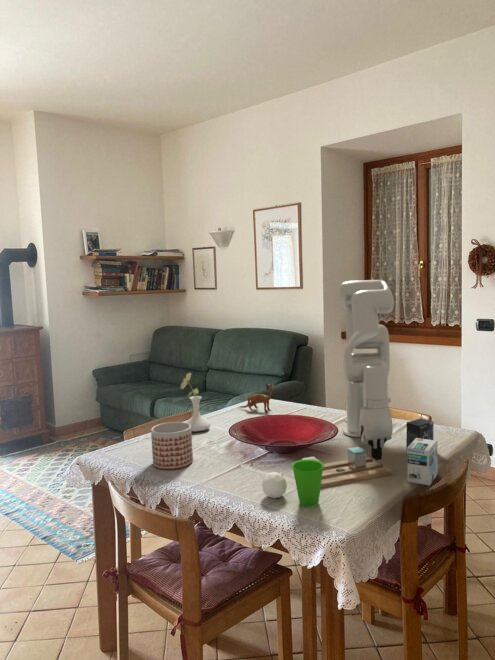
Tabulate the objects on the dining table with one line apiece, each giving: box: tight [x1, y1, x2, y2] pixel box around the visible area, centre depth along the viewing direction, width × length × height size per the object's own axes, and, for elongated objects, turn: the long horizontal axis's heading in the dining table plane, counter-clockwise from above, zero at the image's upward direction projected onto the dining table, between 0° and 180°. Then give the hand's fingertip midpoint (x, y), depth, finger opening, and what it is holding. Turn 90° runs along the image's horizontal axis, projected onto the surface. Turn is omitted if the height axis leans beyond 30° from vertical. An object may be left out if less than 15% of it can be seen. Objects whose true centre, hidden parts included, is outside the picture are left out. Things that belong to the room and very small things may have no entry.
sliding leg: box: [347, 446, 367, 469], centre depth 166 cm, size 5×4×6 cm
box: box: [405, 417, 434, 452], centre depth 182 cm, size 8×6×11 cm
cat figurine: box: [239, 382, 274, 414], centre depth 245 cm, size 18×7×14 cm, turn 65°
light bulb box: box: [406, 438, 438, 486], centre depth 159 cm, size 11×7×11 cm, turn 148°
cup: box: [291, 459, 325, 508], centre depth 144 cm, size 9×9×11 cm
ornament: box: [261, 471, 288, 499], centre depth 150 cm, size 7×7×8 cm
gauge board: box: [301, 456, 392, 489], centre depth 165 cm, size 14×26×6 cm, turn 109°
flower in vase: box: [180, 372, 212, 432], centre depth 217 cm, size 13×11×25 cm
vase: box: [150, 421, 194, 471], centre depth 181 cm, size 14×14×13 cm
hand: (376, 458), depth 169 cm, fingers closed
